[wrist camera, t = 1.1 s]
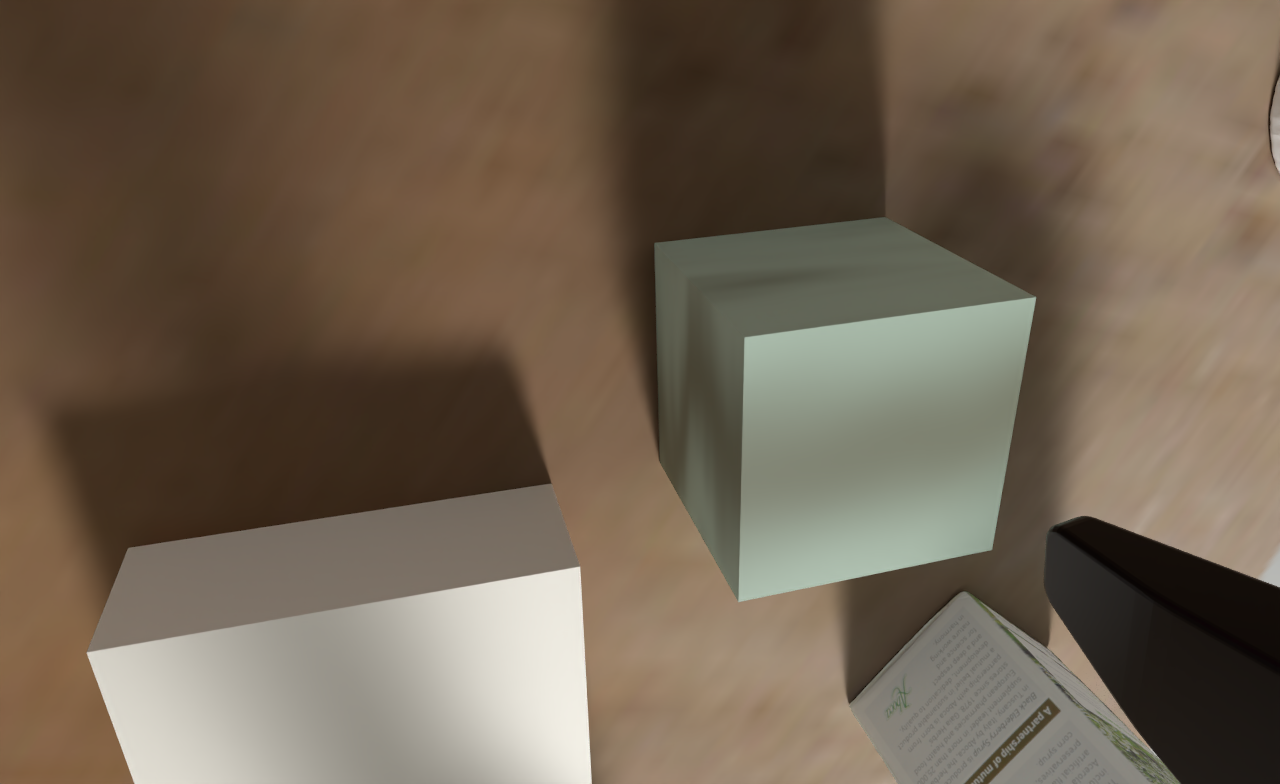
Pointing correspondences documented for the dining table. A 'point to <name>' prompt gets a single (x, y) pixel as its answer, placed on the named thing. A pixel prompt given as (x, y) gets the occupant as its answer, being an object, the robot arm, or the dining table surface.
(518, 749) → the cream block
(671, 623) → the dining table surface
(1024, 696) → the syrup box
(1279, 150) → the white bottle
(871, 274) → the green cube
